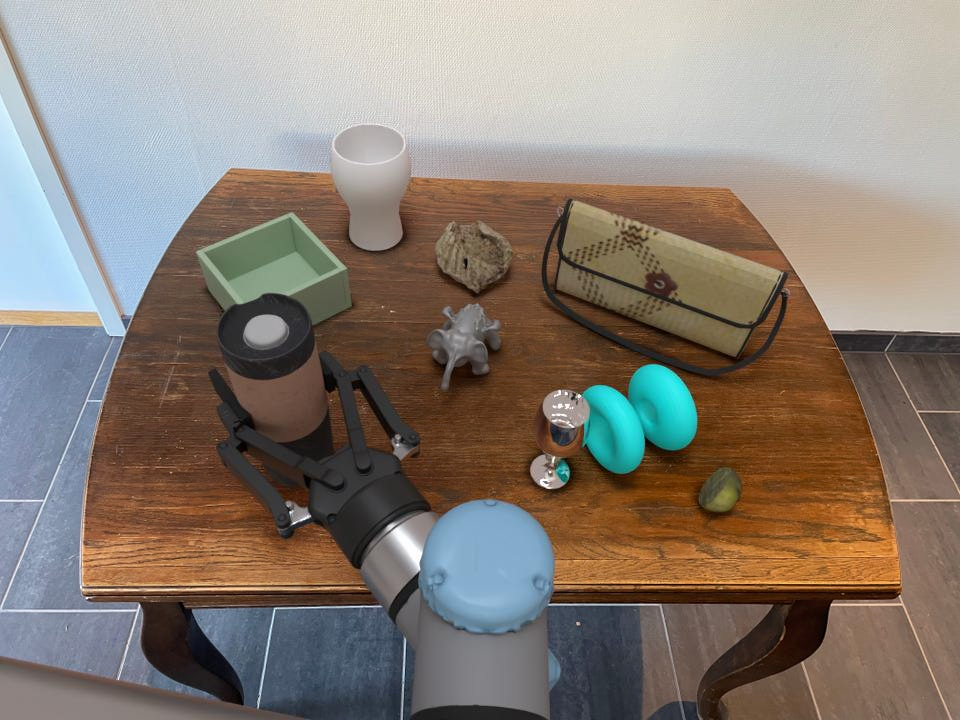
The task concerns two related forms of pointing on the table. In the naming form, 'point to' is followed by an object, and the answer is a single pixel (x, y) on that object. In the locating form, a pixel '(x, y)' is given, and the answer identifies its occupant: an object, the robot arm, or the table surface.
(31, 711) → the robot arm
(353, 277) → the table surface
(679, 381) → the turquoise yo-yo
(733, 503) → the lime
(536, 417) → the wineglass
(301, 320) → the travel mug
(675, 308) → the clutch purse
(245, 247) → the bin
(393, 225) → the cup
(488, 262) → the seashell
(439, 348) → the gray elephant figurine
